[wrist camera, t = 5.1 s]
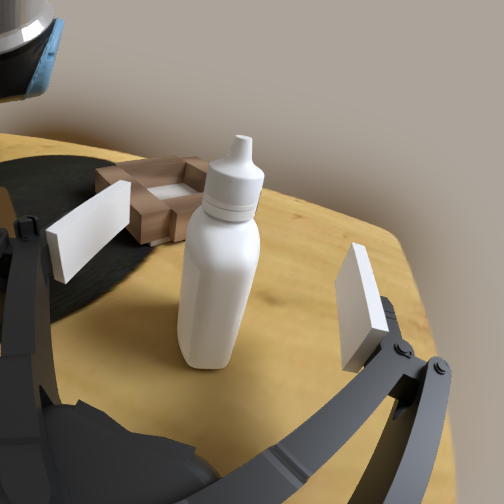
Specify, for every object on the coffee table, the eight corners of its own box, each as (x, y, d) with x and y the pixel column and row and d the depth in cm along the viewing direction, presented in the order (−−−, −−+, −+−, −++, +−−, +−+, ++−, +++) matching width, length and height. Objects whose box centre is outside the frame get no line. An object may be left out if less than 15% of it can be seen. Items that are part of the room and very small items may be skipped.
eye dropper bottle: (150, 350, 16) (159, 133, 9) (194, 296, 20) (224, 121, 14) (218, 383, 15) (277, 165, 9) (251, 321, 20) (306, 144, 13)
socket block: (92, 192, 30) (92, 166, 28) (188, 176, 40) (192, 154, 38) (146, 256, 23) (147, 220, 21) (261, 221, 33) (268, 195, 31)
